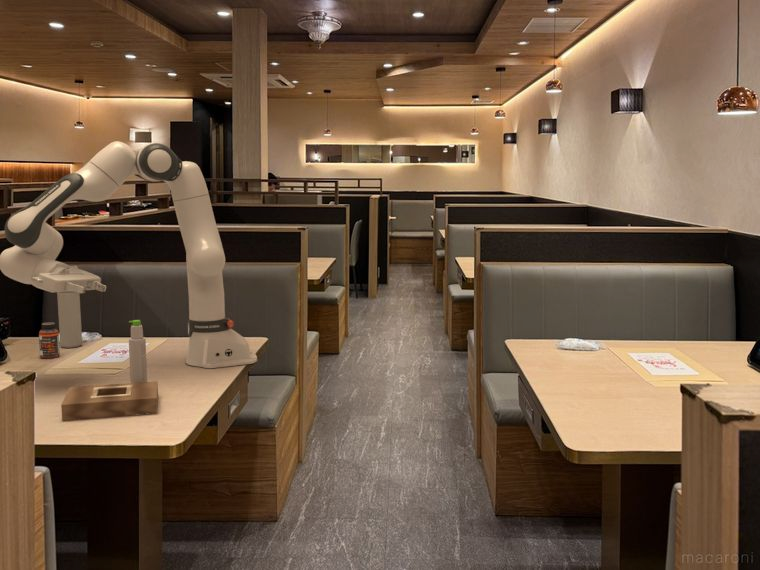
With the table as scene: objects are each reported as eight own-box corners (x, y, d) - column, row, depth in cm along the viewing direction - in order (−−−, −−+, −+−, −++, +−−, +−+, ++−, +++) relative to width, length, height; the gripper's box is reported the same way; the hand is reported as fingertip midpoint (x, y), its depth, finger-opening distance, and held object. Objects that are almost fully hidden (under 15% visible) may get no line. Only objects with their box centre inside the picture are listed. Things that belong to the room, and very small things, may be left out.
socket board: (158, 395, 200) (157, 380, 199) (156, 413, 184) (156, 396, 184) (70, 401, 194) (69, 386, 193) (62, 420, 178) (61, 403, 178)
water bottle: (78, 348, 255) (74, 277, 251) (55, 348, 255) (51, 276, 251) (89, 342, 264) (85, 273, 260) (67, 342, 264) (63, 273, 260)
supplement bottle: (40, 360, 239) (38, 325, 237) (39, 356, 244) (37, 322, 242) (60, 358, 241) (58, 324, 240) (59, 354, 247) (57, 321, 245)
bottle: (133, 389, 205) (130, 319, 202) (149, 389, 205) (146, 319, 202) (129, 394, 201) (125, 322, 198) (145, 394, 201) (142, 322, 198)
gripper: (29, 265, 197) (73, 280, 195) (77, 264, 217) (117, 277, 214) (24, 288, 198) (68, 302, 195) (72, 285, 218) (112, 298, 215)
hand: (94, 289), depth 205 cm, fingers open, 8 cm apart
